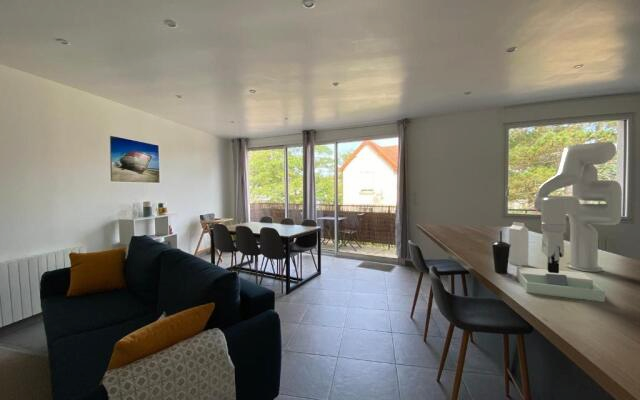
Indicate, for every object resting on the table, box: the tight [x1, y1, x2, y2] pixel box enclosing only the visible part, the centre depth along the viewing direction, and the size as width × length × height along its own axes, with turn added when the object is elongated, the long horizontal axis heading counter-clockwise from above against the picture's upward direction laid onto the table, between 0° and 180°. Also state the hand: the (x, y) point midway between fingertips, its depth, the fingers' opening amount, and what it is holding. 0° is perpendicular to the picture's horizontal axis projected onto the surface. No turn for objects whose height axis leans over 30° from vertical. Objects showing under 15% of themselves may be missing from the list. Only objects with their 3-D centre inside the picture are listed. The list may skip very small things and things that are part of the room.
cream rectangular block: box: [516, 266, 594, 283], centre depth 109 cm, size 9×22×5 cm, turn 63°
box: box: [520, 276, 606, 303], centre depth 101 cm, size 9×22×4 cm, turn 63°
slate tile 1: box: [545, 274, 568, 286], centre depth 103 cm, size 4×6×2 cm
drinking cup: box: [491, 230, 511, 274], centre depth 126 cm, size 8×8×20 cm
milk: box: [508, 221, 529, 267], centre depth 138 cm, size 6×6×22 cm
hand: (553, 272), depth 107 cm, fingers closed
